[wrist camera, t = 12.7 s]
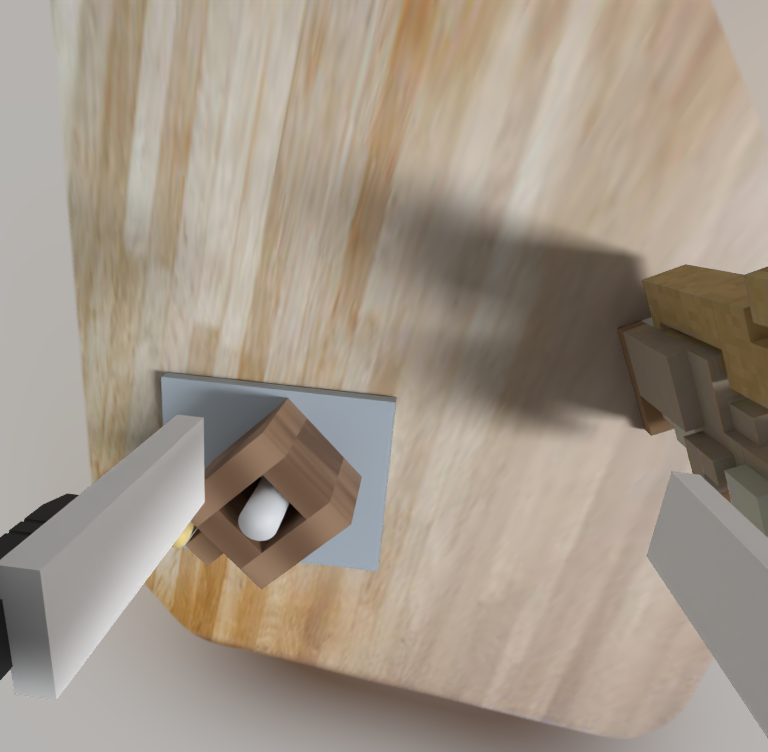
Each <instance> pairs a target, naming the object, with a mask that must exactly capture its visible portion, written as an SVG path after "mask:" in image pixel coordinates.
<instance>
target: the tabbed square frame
mask: <svg viewBox="0 0 768 752" xmlns="http://www.w3.org/2000/svg"><path fill="white" fill-rule="evenodd" d="M262 475H263V476H264V477H265V478H266V479H267V480H268V481H269V482H270V483H271V484H272V485H273V486H274V487H275V488H276V489H277V490H278V491H279V492H280V493H281V494H282V495H283V496H284V497H285V498H286V499H287V500H288V501H289V502H290V504H289V506H288V508H287V510H286V512H285V515H284V517H283V519H282V521H281V524H280V526H279V528H278V530H277V532H276V534H275V535H274V536H273V537H272V538H270V539H268V540H265V541H256V540H253V539H250V538H248V537H247V536H246V535H244V534H243V532H242V531H241V529H240V527H239V524H238V519H239V515H240V514H241V512H242V510H243V509H244V507H245V505H246V504H247V502H248V500H249V499H250V497H251V495H252V494H253V492H254V490H255V489H256V487H257V485H258V484H259V482H260V480H261V479H262V478H261V477H260V476H262ZM361 478H362V476H361V475H360V474H359V473H358V472H357V471H356V470H355V469H354V468H353V467H352V466H351V465H350V464H349V462H348V461H347V460H346V459H345V458H344V457H343V456H342V455H341V454H340V453H339V452H338V451H337V450H336V449H335V447H334V446H333V445H332V444H331V443H330V442H329V441H328V440H327V439H326V438H325V437H324V436H323V435H322V434H321V432H320V431H319V430H318V429H317V428H316V427H315V426H314V425H313V424H312V423H311V422H310V421H309V420H308V419H307V417H306V416H305V415H304V414H303V413H302V412H301V411H300V410H299V409H298V408H297V407H296V406H295V405H294V404H293V402H292V401H291V400H290V399H289V398H287V399H286V400H285V401H284V402H283V403H281V404H280V405H279V406H278V407H277V408H275V409H274V410H273V411H272V412H271V413H269V414H268V415H267V416H266V417H265V418H263V419H262V420H261V421H260V422H259V423H257V424H256V425H255V426H254V427H253V428H251V429H250V430H249V431H248V432H247V433H245V434H244V435H243V436H242V437H241V438H239V439H238V440H237V441H236V442H235V443H233V444H232V445H231V446H230V447H229V448H227V449H226V450H225V451H224V452H223V453H221V454H220V455H219V456H218V457H217V458H215V459H214V460H213V461H212V462H211V463H210V464H209V466H208V467H207V468H206V469H205V470H204V489H205V503H204V504H203V505H202V507H201V508H200V509H199V511H198V512H197V513H196V515H195V516H194V517H193V519H192V520H191V522H192V523H193V524H194V525H195V526H196V527H197V530H196V531H195V533H194V534H193V535H192V537H191V538H190V540H189V541H188V542H187V544H186V545H185V546H186V547H188V548H189V549H190V550H191V551H192V552H193V553H194V554H195V555H196V556H197V557H198V558H199V559H200V560H201V561H202V562H203V563H204V564H206V565H209V564H210V563H211V562H213V561H214V560H215V559H217V558H218V557H219V556H220V555H222V554H223V553H224V554H225V555H226V556H227V557H228V558H229V559H230V560H231V561H233V562H234V563H235V564H236V565H237V566H238V567H239V568H240V569H241V570H242V571H243V572H244V573H245V574H246V575H247V576H248V577H249V578H250V579H251V580H252V581H253V582H254V583H255V584H256V585H258V586H259V587H260V588H261V589H263V588H264V587H266V586H267V585H268V584H270V583H271V582H272V581H274V580H275V579H277V578H278V577H279V576H281V575H282V574H283V573H285V572H286V571H288V570H289V569H290V568H292V567H293V566H295V565H296V564H297V563H299V562H300V561H301V560H303V559H304V558H306V557H307V556H308V555H310V554H311V553H312V552H314V551H315V550H317V549H318V548H319V547H321V546H322V545H324V544H325V543H326V542H328V541H329V540H330V539H332V538H333V537H335V536H336V535H337V534H339V533H340V532H341V531H343V530H344V529H346V528H347V527H348V526H350V525H351V523H352V519H353V514H354V510H355V505H356V501H357V496H358V492H359V487H360V483H361Z"/></svg>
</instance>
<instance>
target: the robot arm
mask: <svg viewBox="0 0 768 752" xmlns="http://www.w3.org/2000/svg"><path fill="white" fill-rule="evenodd" d="M204 503H205V489H204V417H195V416H187V415H178V414H177V415H176V416H175V417H174V418H172V419H171V420H170V421H169V422H167V423H166V424H165V425H164V426H163V427H161V428H160V429H159V430H158V431H156V432H155V433H154V434H153V435H152V436H150V437H149V438H148V439H147V440H146V441H144V442H143V443H142V444H141V445H139V446H138V447H137V448H136V449H135V450H133V451H132V452H131V453H130V454H128V455H127V456H126V457H125V458H124V459H122V460H121V461H120V462H119V463H117V464H116V465H115V466H114V467H113V468H111V469H110V470H109V471H108V472H107V473H105V474H104V475H103V476H102V477H100V478H99V479H98V480H97V481H96V482H94V483H93V484H92V485H91V486H90V487H88V488H87V489H86V490H85V491H83V492H82V493H81V494H80V495H74V494H66V495H63V496H61V497H59V498H57V499H54V500H52V501H50V502H48V503H46V504H43V505H42V506H40V507H39V508H38V509H37V510H35V511H34V512H33V513H31V514H30V515H29V516H27V517H26V518H25V520H24V522H20V523H18V524H17V525H16V526H14V527H13V528H12V529H11V530H9V533H8V534H7V533H6V534H4V535H3V536H2V537H0V680H1V679H2V678H3V677H4V676H5V674H6V673H7V672H8V671H9V670H10V669H11V673H12V680H13V686H14V692H15V694H17V695H24V696H31V697H39V698H46V699H54V700H57V699H58V697H59V696H60V695H61V693H62V692H63V691H64V689H65V688H66V687H67V685H68V684H69V683H70V681H71V680H72V679H73V677H74V676H75V675H76V673H77V672H78V670H79V669H80V668H81V667H82V665H83V664H84V663H85V661H86V660H87V659H88V657H89V656H90V655H91V653H92V652H93V651H94V649H95V648H96V647H97V645H98V644H99V642H100V641H101V640H102V639H103V637H104V636H105V635H106V633H107V632H108V631H109V629H110V628H111V627H112V625H113V624H114V623H115V621H116V620H117V619H118V617H119V616H120V615H121V613H122V612H123V611H124V609H125V608H126V607H127V605H128V604H129V603H130V601H131V600H132V599H133V597H134V596H135V595H136V593H137V592H138V590H139V589H140V588H141V587H142V585H143V584H144V583H145V581H146V580H147V579H148V577H149V576H150V575H151V573H152V572H153V571H154V569H155V568H156V567H157V565H158V564H159V563H160V561H161V560H162V559H163V557H164V556H165V555H166V553H167V552H168V551H169V549H170V548H171V547H172V545H173V544H174V543H175V541H176V540H177V539H178V537H179V536H180V535H181V533H182V532H183V531H184V529H185V528H186V527H187V525H188V524H189V523H190V521H191V520H192V519H193V517H194V516H195V515H196V513H197V512H198V511H199V509H200V508H201V507H202V505H203V504H204ZM647 557H648V559H649V560H650V562H651V563H652V565H653V566H654V568H655V569H656V571H657V572H658V574H659V575H660V577H661V578H662V580H663V581H664V583H665V584H666V586H667V587H668V589H669V590H670V592H671V593H672V595H673V596H674V598H675V599H676V601H677V602H678V604H679V605H680V607H681V608H682V610H683V611H684V613H685V614H686V616H687V617H688V619H689V620H690V622H691V623H692V625H693V626H694V628H695V629H696V631H697V632H698V634H699V635H700V637H701V638H702V640H703V641H704V643H705V644H706V646H707V647H708V649H709V650H710V652H711V653H712V655H713V656H714V658H715V659H716V661H717V662H718V664H719V665H720V667H721V668H722V670H723V671H724V673H725V674H726V676H727V677H728V679H729V680H730V682H731V683H732V685H733V686H734V688H735V689H736V691H737V692H738V694H739V695H740V697H741V698H742V700H743V701H744V703H745V704H746V706H747V707H748V709H749V710H750V712H751V713H752V715H753V716H754V718H755V719H756V721H757V722H758V724H759V725H760V727H761V728H762V730H763V732H764V733H765V734H766V736H767V737H768V537H766V536H765V535H764V534H763V533H762V532H761V531H760V530H759V529H758V528H757V527H756V526H755V525H754V524H752V523H751V522H750V521H749V520H748V519H747V518H746V517H745V516H744V515H743V514H742V513H741V512H739V511H738V510H737V509H736V508H735V507H734V506H733V505H732V504H731V503H730V502H729V501H728V500H727V499H725V498H724V497H723V496H722V495H721V494H720V493H719V492H718V491H717V490H716V489H715V488H714V487H713V486H711V485H710V484H709V483H708V482H707V481H706V480H705V479H704V478H703V477H702V476H701V475H698V474H689V473H681V472H671V475H670V479H669V482H668V485H667V489H666V492H665V496H664V499H663V502H662V506H661V509H660V513H659V516H658V519H657V523H656V526H655V530H654V533H653V536H652V540H651V543H650V547H649V550H648V553H647Z"/></svg>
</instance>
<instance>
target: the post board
mask: <svg viewBox="0 0 768 752" xmlns="http://www.w3.org/2000/svg"><path fill="white" fill-rule="evenodd" d="M161 389H162V414H163V426H164V425H165V424H166V423H167V422H169V421H170V420H171V419H172V418H174V417H175V416H176V415H177V414H178V415H187V416H195V417H204V470H205V469H206V468H207V467H208V466H209V464H210V463H211V462H212V461H213V460H214V459H215V458H217V457H218V456H219V455H220V454H221V453H223V452H224V451H225V450H226V449H227V448H229V447H230V446H231V445H232V444H233V443H235V442H236V441H237V440H238V439H239V438H241V437H242V436H243V435H244V434H245V433H247V432H248V431H249V430H250V429H251V428H253V427H254V426H255V425H256V424H257V423H259V422H260V421H261V420H262V419H263V418H265V417H266V416H267V415H268V414H269V413H271V412H272V411H273V410H274V409H275V408H277V407H278V406H279V405H280V404H281V403H283V402H284V401H285V400H286V399H287V398H289V399H290V400H291V401H292V402H293V404H294V405H295V406H296V407H297V408H298V409H299V410H300V411H301V412H302V413H303V414H304V415H305V416H306V417H307V419H308V420H309V421H310V422H311V423H312V424H313V425H314V426H315V427H316V428H317V429H318V430H319V431H320V432H321V434H322V435H323V436H324V437H325V438H326V439H327V440H328V441H329V442H330V443H331V444H332V445H333V446H334V447H335V449H336V450H337V451H338V452H339V453H340V454H341V455H342V456H343V457H344V458H345V459H346V460H347V461H348V462H349V464H350V465H351V466H352V467H353V468H354V469H355V470H356V471H357V472H358V473H359V474H360V475H361V476H362V478H361V483H360V487H359V492H358V496H357V501H356V505H355V510H354V514H353V519H352V523H351V525H350V526H348V527H347V528H346V529H344V530H343V531H341V532H340V533H339V534H337V535H336V536H335V537H333V538H332V539H330V540H329V541H328V542H326V543H325V544H324V545H322V546H321V547H319V548H318V549H317V550H315V551H314V552H312V553H311V554H310V555H308V556H307V557H306V558H304V559H303V560H301V561H300V562H303V563H311V564H320V565H328V566H336V567H344V568H353V569H361V570H369V571H377V572H378V567H379V558H380V548H381V539H382V529H383V520H384V510H385V501H386V491H387V482H388V472H389V463H390V453H391V444H392V434H393V425H394V415H395V406H396V397H388V396H379V395H369V394H360V393H351V392H342V391H333V390H324V389H314V388H305V387H296V386H287V385H278V384H268V383H259V382H250V381H241V380H232V379H223V378H213V377H204V376H195V375H186V374H177V373H166V374H165V375H163V376H162V377H161ZM260 477H261V478H262V479H261V480H260V482H259V484H258V485H257V487H256V489H255V490H254V492H253V494H252V495H251V497H250V499H249V500H248V502H247V504H246V505H245V507H244V509H243V510H242V512H241V514H240V515H239V519H238V524H239V527H240V529H241V531H242V532H243V534H244V535H246V536H247V537H248V538H250V539H253V540H256V541H265V540H268V539H270V538H272V537H273V536H274V535H275V534H276V532H277V530H278V528H279V526H280V524H281V521H282V519H283V517H284V515H285V512H286V510H287V508H288V506H289V504H290V502H289V501H288V500H287V499H286V498H285V497H284V496H283V495H282V494H281V493H280V492H279V491H278V490H277V489H276V488H275V487H274V486H273V485H272V484H271V483H270V482H269V481H268V480H267V479H266V478H265V477H264V476H263V475H262V476H260ZM196 530H197V527H196V526H195V525H194V524H193V523H192V522H191V521H190V523H189V524H188V525H187V527H186V528H185V529H184V531H183V532H182V533H181V535H180V536H179V537H178V539H177V540H176V541H175V543H174V544H173V545H172V547H174V548H188V547H186V546H185V545H186V544H187V542H188V541H189V540H190V538H191V537H192V535H193V534H194V533H195V531H196ZM188 549H189V548H188Z"/></svg>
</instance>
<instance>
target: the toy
mask: <svg viewBox="0 0 768 752" xmlns="http://www.w3.org/2000/svg"><path fill="white" fill-rule="evenodd" d="M642 282H643V285H644V289H645V293H646V297H647V301H648V305H649V309H650V313H651V317H650V318H647V319H644V320H641V321H638V322H635V323H632V324H629V325H627V326H624V327H621V328H618V329H617V330H618V333H619V337H620V341H621V344H622V348H623V351H624V355H625V359H626V362H627V366H628V369H629V373H630V377H631V380H632V384H633V388H634V391H635V395H636V398H637V402H638V406H639V409H640V413H641V416H642V420H643V424H644V427H645V430H646V431H647V432H648V433H649V434H650V435H651V436H652V435H655V434H658V433H661V432H665V431H668V430H671V429H674V428H675V432H676V436H677V440H678V441H679V442H680V443H681V444H683V445H684V446H685V447H686V449H687V453H688V457H689V461H690V464H691V468H692V472H693V474H698V475H701V476H702V477H703V478H704V479H705V480H706V481H707V482H708V483H709V484H710V485H711V486H713V487H714V488H715V489H716V490H717V491H718V492H719V493H720V494H721V495H722V496H723V497H724V498H725V499H727V500H728V501H729V502H730V503H731V501H732V503H731V504H732V505H733V506H734V507H735V508H736V509H737V510H738V511H739V512H741V513H742V514H743V515H744V516H745V517H746V518H747V519H748V520H749V521H750V522H751V523H752V524H754V525H755V526H756V527H757V528H758V529H759V530H760V531H761V532H762V533H763V534H764V535H765V536H766V537H768V267H765V268H763V269H760V270H757V271H754V272H751V273H748V274H746V275H742V274H736V273H731V272H725V271H719V270H714V269H708V268H702V267H697V266H691V265H683V266H680V267H677V268H674V269H672V270H669V271H666V272H663V273H661V274H658V275H655V276H652V277H649V278H647V279H644V280H642ZM727 485H728V486H727ZM728 489H729V490H728ZM729 493H730V494H729ZM730 497H731V498H730Z"/></svg>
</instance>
